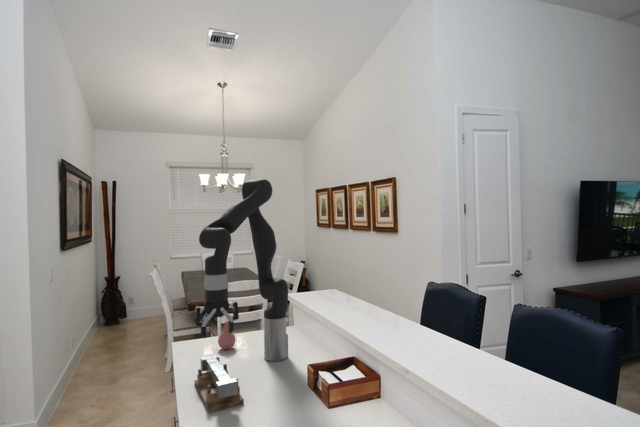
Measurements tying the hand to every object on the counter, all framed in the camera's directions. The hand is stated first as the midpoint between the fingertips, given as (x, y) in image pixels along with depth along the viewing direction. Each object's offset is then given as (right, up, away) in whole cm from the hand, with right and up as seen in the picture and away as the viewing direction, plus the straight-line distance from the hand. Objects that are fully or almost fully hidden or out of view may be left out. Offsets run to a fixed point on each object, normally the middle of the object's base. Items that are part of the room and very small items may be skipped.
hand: (217, 334), depth 127 cm
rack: (0, -20, 0) cm, 20 cm away
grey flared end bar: (0, -15, 0) cm, 15 cm away
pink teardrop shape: (-7, -20, +43) cm, 48 cm away
